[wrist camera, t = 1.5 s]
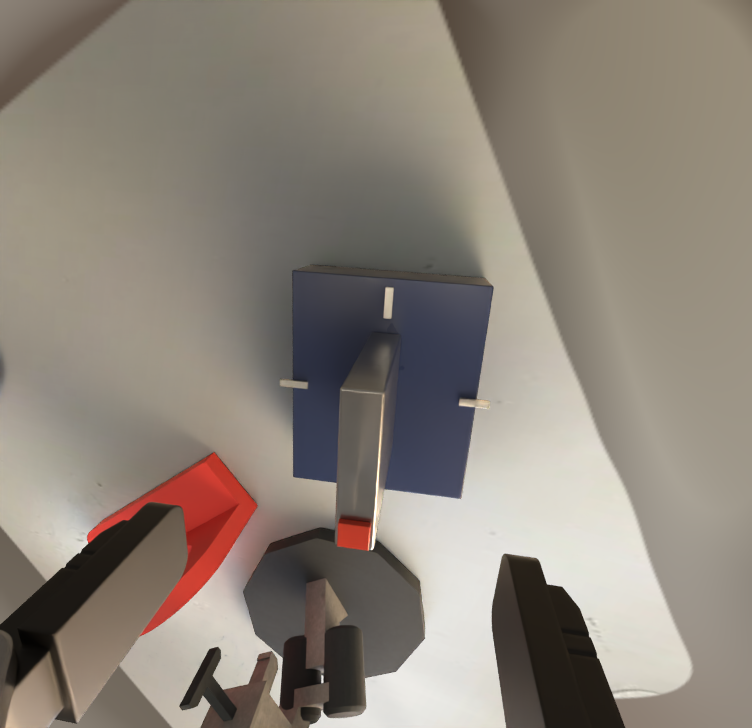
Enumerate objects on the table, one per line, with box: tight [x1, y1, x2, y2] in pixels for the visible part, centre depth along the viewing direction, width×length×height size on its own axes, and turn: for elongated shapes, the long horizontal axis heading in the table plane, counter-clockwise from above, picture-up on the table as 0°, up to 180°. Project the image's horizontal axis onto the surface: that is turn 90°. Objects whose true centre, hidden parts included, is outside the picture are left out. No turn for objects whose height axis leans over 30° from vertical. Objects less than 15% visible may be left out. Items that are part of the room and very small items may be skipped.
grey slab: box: [335, 332, 401, 551], centre depth 17 cm, size 6×1×7 cm, turn 176°
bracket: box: [87, 453, 258, 636], centre depth 25 cm, size 12×4×8 cm, turn 124°
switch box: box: [280, 265, 494, 499], centre depth 21 cm, size 11×10×3 cm
